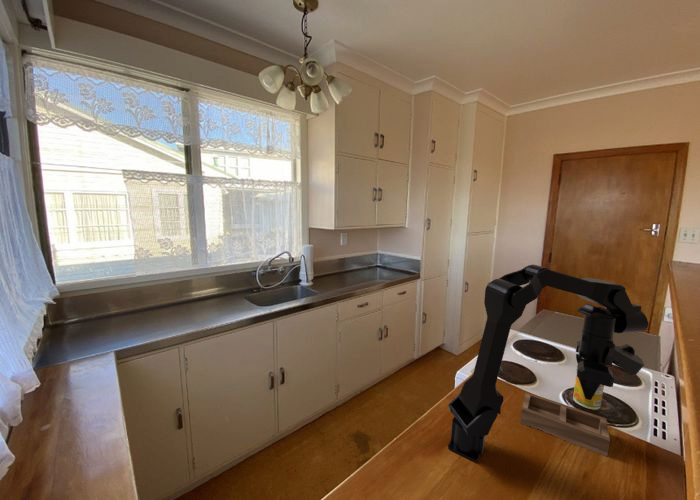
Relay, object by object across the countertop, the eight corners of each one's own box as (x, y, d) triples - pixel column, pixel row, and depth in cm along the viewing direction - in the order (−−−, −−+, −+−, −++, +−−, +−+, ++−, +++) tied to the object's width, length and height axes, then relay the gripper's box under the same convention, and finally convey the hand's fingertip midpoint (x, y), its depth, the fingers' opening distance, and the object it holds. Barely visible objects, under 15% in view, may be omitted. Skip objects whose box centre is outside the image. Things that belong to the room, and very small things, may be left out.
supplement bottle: (571, 393, 79) (577, 358, 77) (598, 401, 76) (604, 364, 74) (573, 404, 74) (579, 367, 73) (602, 413, 71) (608, 374, 70)
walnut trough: (607, 456, 70) (609, 440, 69) (520, 422, 80) (521, 409, 79) (603, 432, 77) (606, 418, 77) (524, 404, 87) (526, 391, 87)
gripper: (652, 358, 60) (638, 430, 62) (636, 329, 75) (625, 388, 77) (582, 342, 67) (572, 407, 69) (580, 318, 82) (571, 373, 84)
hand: (587, 393), depth 75 cm, fingers closed on supplement bottle, 5 cm apart
